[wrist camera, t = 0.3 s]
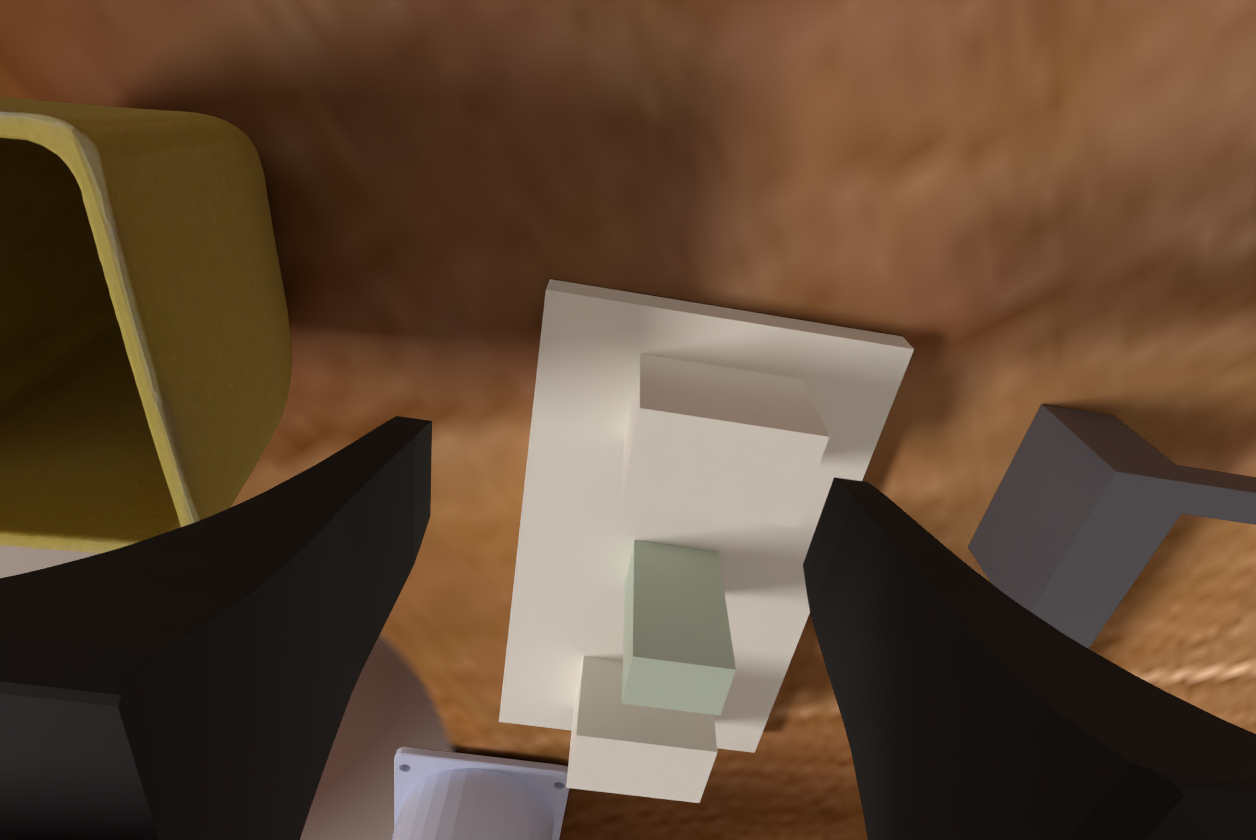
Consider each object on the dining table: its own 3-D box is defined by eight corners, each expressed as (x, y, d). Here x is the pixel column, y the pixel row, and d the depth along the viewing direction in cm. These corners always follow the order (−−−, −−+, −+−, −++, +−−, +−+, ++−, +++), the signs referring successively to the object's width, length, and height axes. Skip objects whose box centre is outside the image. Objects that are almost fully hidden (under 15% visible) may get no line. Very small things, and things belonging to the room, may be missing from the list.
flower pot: (358, 383, 22) (205, 569, 15) (86, 361, 22) (-220, 537, 14) (323, 85, 18) (79, 119, 10) (-14, 53, 18) (-528, 63, 10)
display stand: (751, 732, 30) (775, 882, 25) (503, 701, 30) (471, 849, 24) (902, 336, 21) (992, 437, 16) (549, 279, 21) (516, 364, 15)
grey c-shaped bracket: (1060, 747, 31) (1115, 838, 27) (876, 724, 30) (907, 814, 26) (1283, 442, 23) (1399, 514, 19) (1041, 404, 22) (1116, 471, 19)
